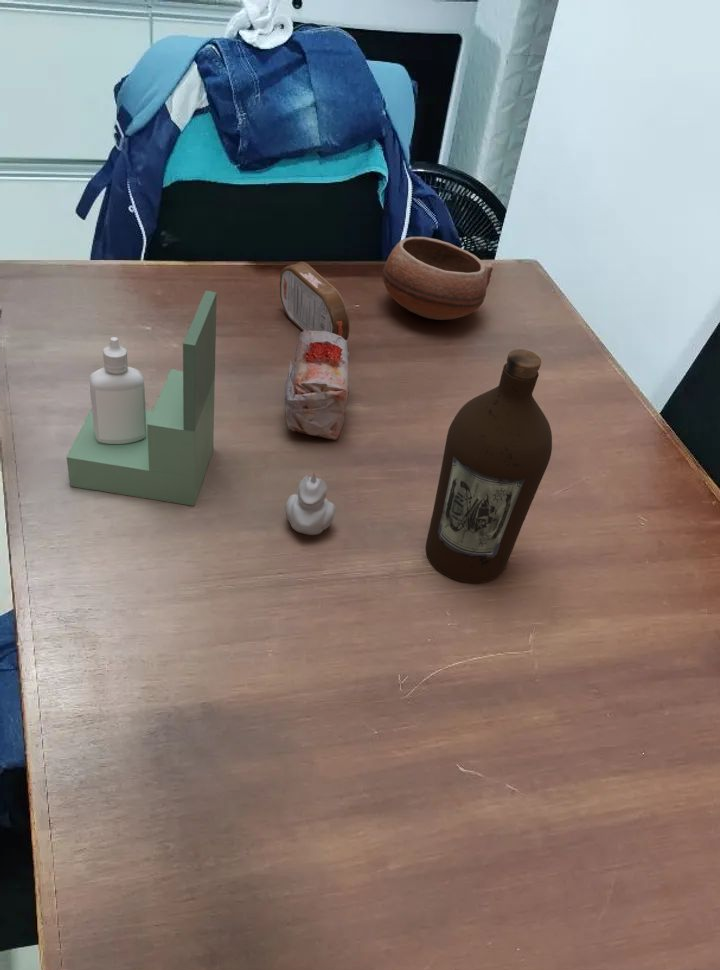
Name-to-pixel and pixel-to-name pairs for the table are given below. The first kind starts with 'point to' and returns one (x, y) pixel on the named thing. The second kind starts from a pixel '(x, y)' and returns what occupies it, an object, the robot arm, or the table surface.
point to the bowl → (436, 278)
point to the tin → (312, 301)
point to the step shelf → (161, 430)
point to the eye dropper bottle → (117, 399)
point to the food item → (318, 385)
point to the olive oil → (490, 475)
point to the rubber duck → (310, 507)
